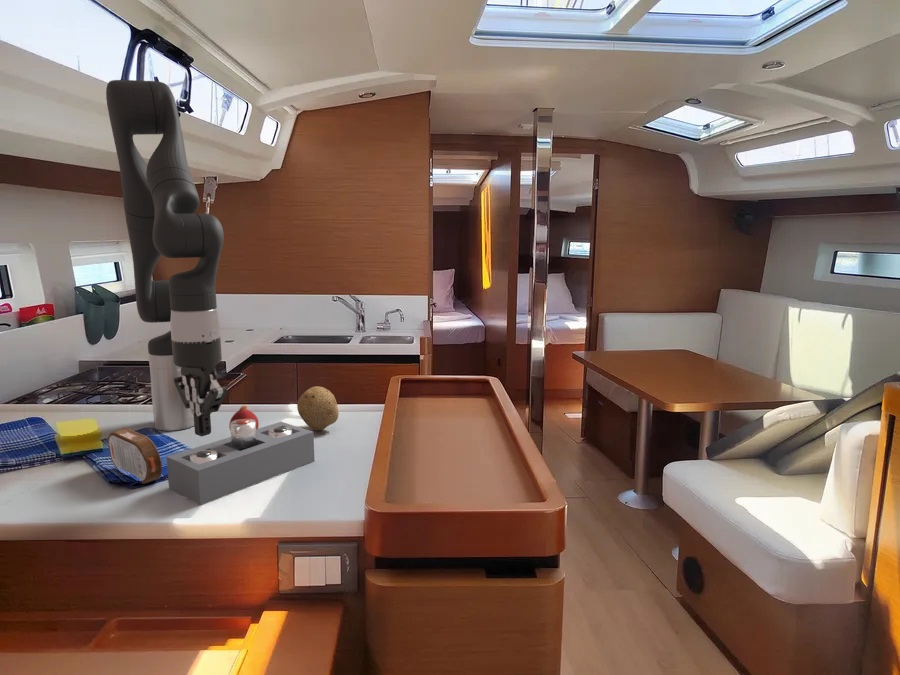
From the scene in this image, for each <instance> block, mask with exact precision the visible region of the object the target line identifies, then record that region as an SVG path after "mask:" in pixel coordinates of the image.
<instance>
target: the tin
mask: <svg viewBox="0 0 900 675" xmlns="http://www.w3.org/2000/svg"><path fill="white" fill-rule="evenodd" d="M107 443H108V450H109V455H110V457H109V458H110V459H111V462H112V464H113V466H114V467H115V466H116V467H119V468H121V469H123V470H125V471H127V472H129V473H131V474H132V475H134V476H136V477H137V478H139V479H140V480H141V481H142V485H143V484H147V483H151V482H153V481H157V480H159V479H160V478H161V476H162V472H163V464H162V460H161V456H160V453H159V451H158V450H159V449H158V448H157V446H156V444H155V442H153V440H151V438H149V437H148V436H147V435H144V434H141V433H140V432H137V431H134V430H132V429H130V428H128V427H123V428H121V429H119V430H115V431H111V433H110V434H109V435H108V437H107Z"/></svg>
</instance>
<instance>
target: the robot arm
mask: <svg viewBox="0 0 900 675" xmlns="http://www.w3.org/2000/svg"><path fill="white" fill-rule="evenodd" d="M105 96H106V97H105V98H106V99H105V100H106V106H107V111H108V117H109V120H110V121H109V122H110V126H111V130H112V131H111V132H112V136H113V141H114V146H115V150H116V155H117V161H118V166H119V167H118V168H119V173H120V180H121V182H120V183H121V190H122V198H123V199H122V200H123V209H124V216H125V223H126V227H127V233H128V239H129V243H130V250H131V256H132V262H133V277H134V287H135V288H134V289H135V290H134V292H135V300H136V301H135V302H136V308H137V314H138V316H139V318H140V319H141V320H142V321H143V322H144V323H152V324H153V323H156V324H157V323H170V330H169V331H167V332H166V333H164V334H161V335H159V336H156V337H153V338H151V339H150V340H149V341H148V343H147V350H148V351H147V352H148V364H149V373H150V383H151V384H150V390H151V402H152V412H153V424H154V428H155V429H157V430H160V431H169V432H170V431H179V430H184V429H189V428H193V427H194V434H195V435H197V436H199V437H204V436H205V437H206V436H207V435H208V436H209V435H210V434H211V433H212V424H211V422H212V421H211V419H212V418H211V414H212V413H216V412H218V411H219V410H220V407H221V406H222V403H223V402H224V399H225V397H226V395H227V393H228V388H227V386H225V385H224V386H221V385H220V383H219V382H218V378H219V377H218V372H217V369H216V367H217V365H218V364H220V363H221V361H222V359H223V358H222V356H223V355H222V344H221V342H222V341H221V327H220V325H221V324H220V318H219V312H218V308H217V307H218V305H217V291H216V284H217V283H216V280H217V275H218V268H219V267H218V266H219V262H220V258H221V253H222V251H223V246H224V241H225V240H224V239H225V233H224V229H223V225H222V223H221V222H220V220H219V219H218V218H217V217H216V216H214V215H213V214H209V213H196V212H197V211H198V209H199V207H200V197H199V193H198V190H197V188H196V185H195V182H194V179H193V177H192V174H191V171H190V168H189V164H188V160H187V154H186V146H185V142H184V135H183V131H182V126H181V120H180V115H179V110H178V107H177V102H176V100H175V97H174V93H173V92H172V90H171V88H170V87H169V85H167V84H166V83H164V82H162V81H157V80H138V79H137V80H135V79H134V80H131V79H113V80H110V81H108V83H107V84H106V89H105ZM134 135H135V136H136V135H138V136H139V135H162V137H161V139H160V142H159V143H158V145H157V147H156V148H155V149H154V151H153V153H152V154H151V156H150V158H149V160H148V162H146V161H145V159H144V158H143V156H142V155H141V153H140V151H139V149H138V147H137V146H136V144H135V142H134ZM162 256H164V257H165V258H169V259H181V258H182V259H184V258H185V259H188V258H189V259H190V258H191V259H193V258H195V259H196V258H198V262H197V264H196V265H195V267H193V268H192V269H190V270H186V271H182V272H177V273H175V274H173V275H171V276H170V278H169V279H168V280H152V276H153V273H154V270H155V267H156V266H157V264H158V263H159V260H160V259H161V257H162Z"/></svg>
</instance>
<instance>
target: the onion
mask: <svg viewBox="0 0 900 675" xmlns="http://www.w3.org/2000/svg"><path fill="white" fill-rule="evenodd" d="M247 408H248V406H247V405H245V404H244V405H242V406H240V408H239V410H238V411H235V413H234V414H233V415H232V417H231V418H230V421H229V431H230V432H231V429H230V423H231V422H232V421H235V420H239V419H253V420H255V421H256V429H259V427H260V426H259V425H260V423H259V419H258V417H257V416H256V414H255V413H253V412H252V411H251V410H249V409H247Z"/></svg>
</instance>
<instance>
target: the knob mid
mask: <svg viewBox="0 0 900 675" xmlns="http://www.w3.org/2000/svg"><path fill="white" fill-rule="evenodd" d="M229 425H230V427H229V430H230V429H231V431H230V437H231V445H232V446H233V447H236V448H245V447H250V446H253V445H255V444H256V443H257V437H256V421H255V420H253V419H239V420H235V421H232V422H231V423H230V422H229Z"/></svg>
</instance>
